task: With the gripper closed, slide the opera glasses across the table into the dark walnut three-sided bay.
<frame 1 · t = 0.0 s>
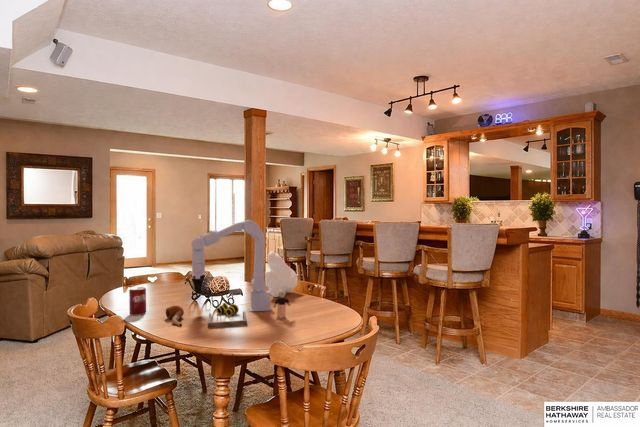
hand: (198, 291, 199), 10 cm above the table, fingers open, 7 cm apart
smoking pipe: (178, 321, 186), on the table
grandmother figurine: (282, 318, 189), on the table
opera glasses: (227, 314, 198), on the table
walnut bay: (227, 321, 184), on the table
white rounded lump: (278, 294, 242), on the table
soda can: (137, 314, 199), on the table
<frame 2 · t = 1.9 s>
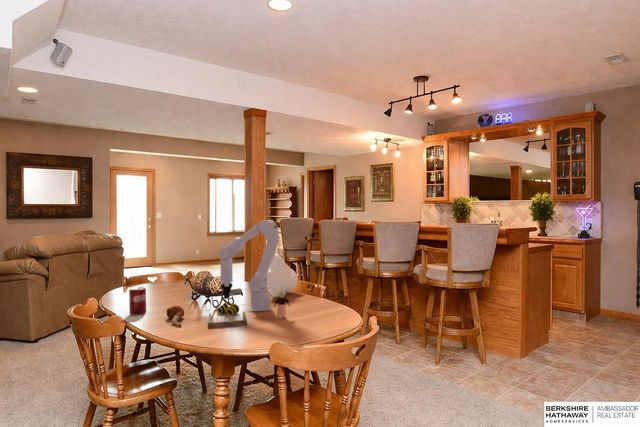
hand: (226, 298, 209), 5 cm above the table, fingers closed
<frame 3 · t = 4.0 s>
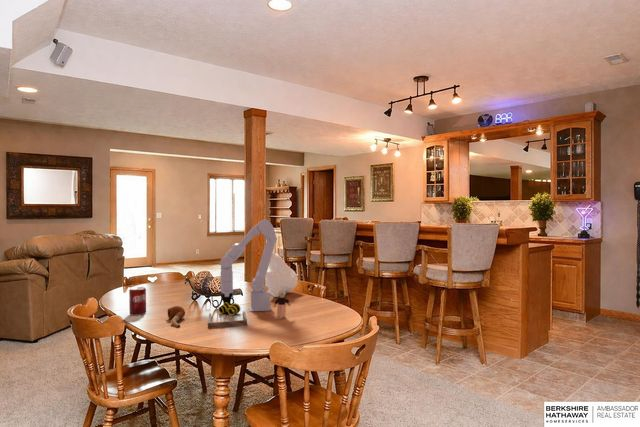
hand: (226, 308, 204), 1 cm above the table, fingers closed
opera glasses: (229, 314, 198), on the table, touching gripper
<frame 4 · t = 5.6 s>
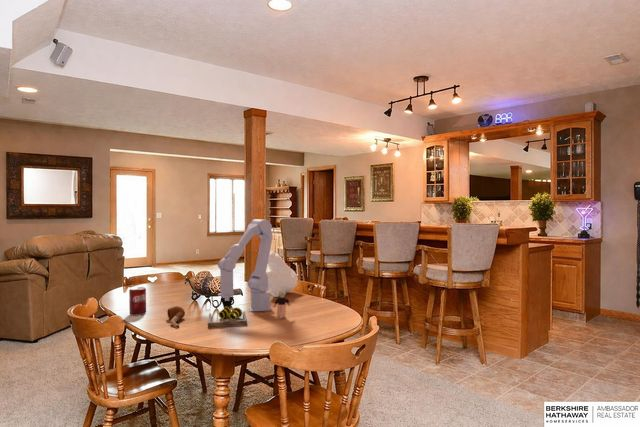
hand: (227, 313, 195), 1 cm above the table, fingers closed
opera glasses: (230, 318, 189), on the table, touching gripper
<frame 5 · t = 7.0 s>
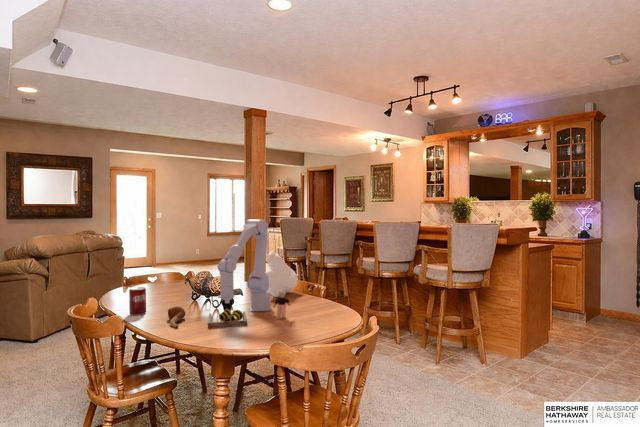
hand: (227, 315, 190), 1 cm above the table, fingers closed
opera glasses: (230, 321, 185), on the table, touching gripper
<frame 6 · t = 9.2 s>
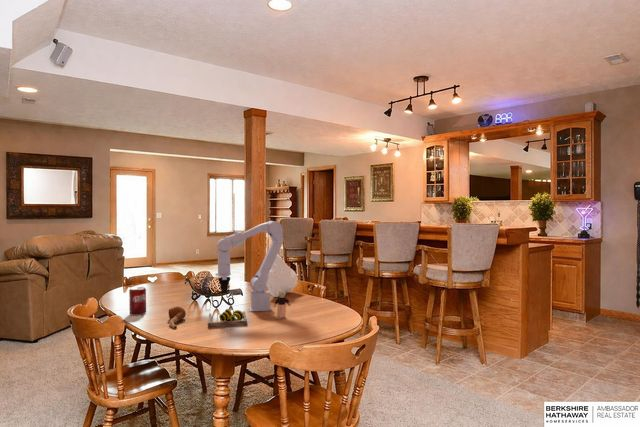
hand: (224, 292, 200), 9 cm above the table, fingers closed
opera glasses: (231, 321, 185), on the table
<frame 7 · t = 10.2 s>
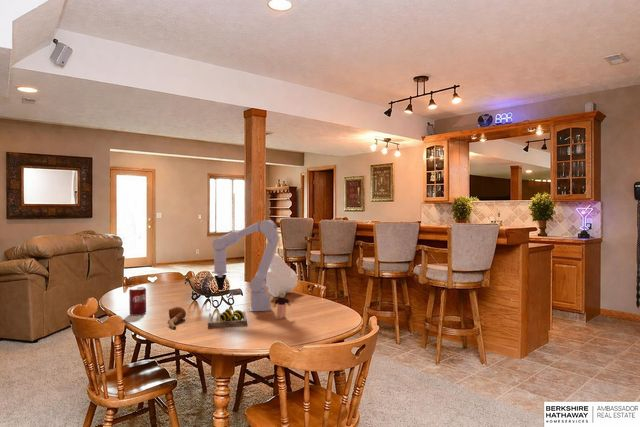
hand: (220, 289, 207), 9 cm above the table, fingers closed
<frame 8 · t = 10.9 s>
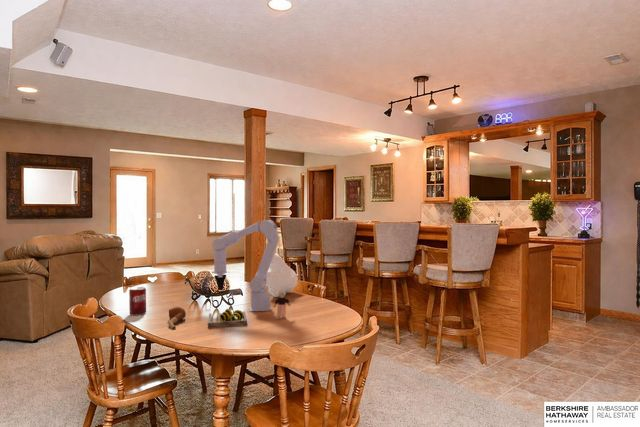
hand: (220, 289, 207), 9 cm above the table, fingers closed
at the end: opera glasses inside the target area (2.2 cm from its centre), on the table; opera glasses moved 13.0 cm from its start; the gripper is holding nothing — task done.
